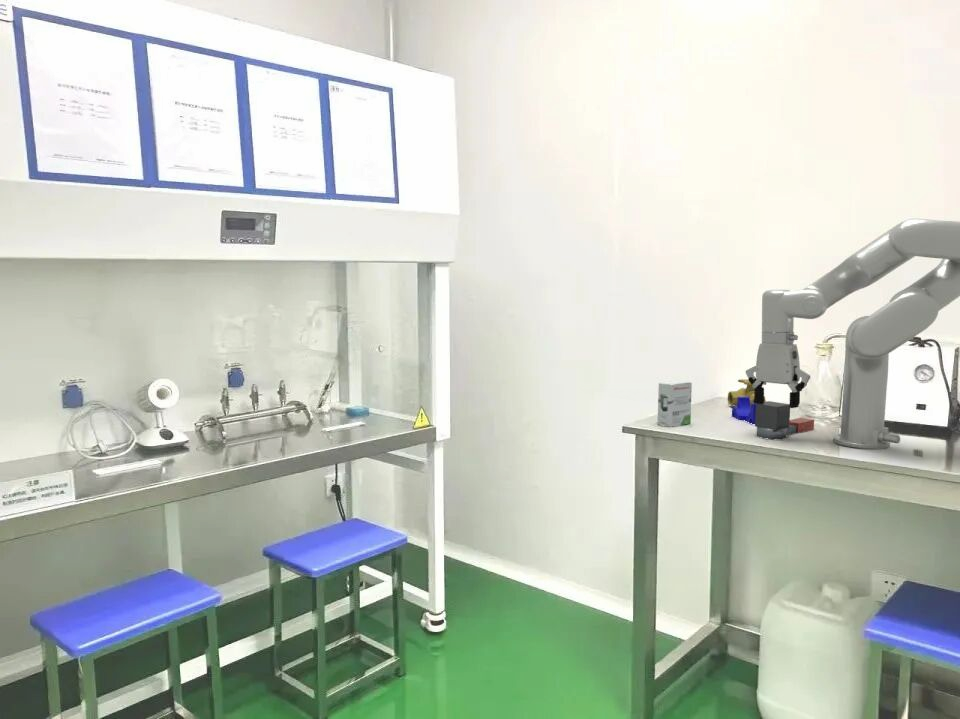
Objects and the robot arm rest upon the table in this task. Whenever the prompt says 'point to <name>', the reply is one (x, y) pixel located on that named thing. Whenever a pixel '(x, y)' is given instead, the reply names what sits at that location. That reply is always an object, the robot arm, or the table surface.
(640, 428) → the table surface
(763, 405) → the dark cube on disc
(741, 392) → the ball valve
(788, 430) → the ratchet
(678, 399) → the ink box
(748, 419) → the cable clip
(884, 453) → the table surface
